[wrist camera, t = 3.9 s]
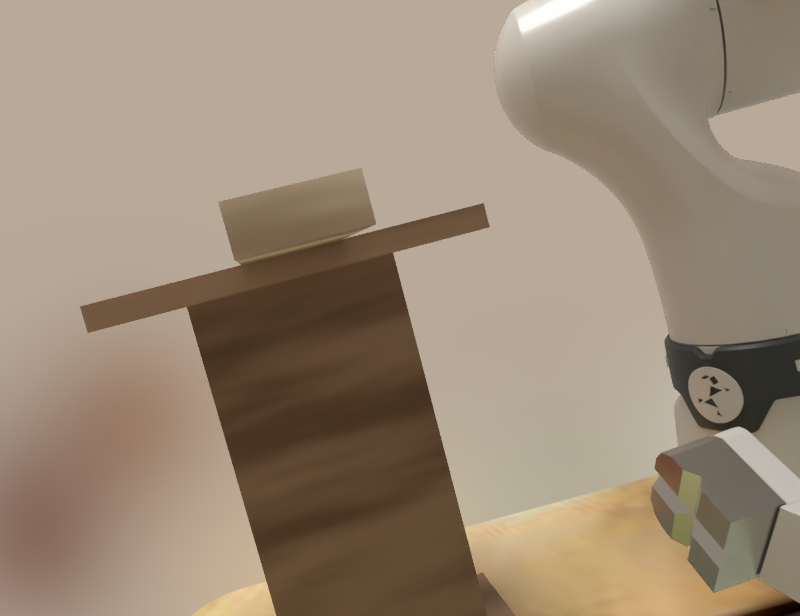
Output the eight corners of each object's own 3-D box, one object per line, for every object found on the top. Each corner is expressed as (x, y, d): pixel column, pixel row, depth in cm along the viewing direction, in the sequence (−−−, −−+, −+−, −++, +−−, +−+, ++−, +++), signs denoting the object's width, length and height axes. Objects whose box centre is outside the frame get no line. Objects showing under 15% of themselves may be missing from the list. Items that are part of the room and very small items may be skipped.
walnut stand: (624, 775, 31) (483, 203, 28) (270, 930, 28) (79, 306, 25) (473, 570, 52) (386, 235, 50) (265, 645, 49) (161, 293, 47)
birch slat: (376, 224, 19) (361, 167, 19) (234, 259, 19) (218, 201, 19) (305, 256, 49) (299, 234, 49) (249, 270, 48) (243, 248, 48)
